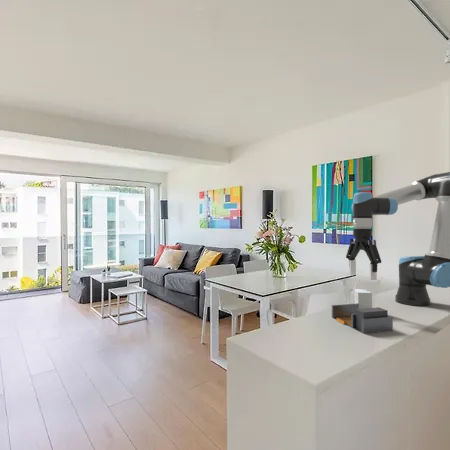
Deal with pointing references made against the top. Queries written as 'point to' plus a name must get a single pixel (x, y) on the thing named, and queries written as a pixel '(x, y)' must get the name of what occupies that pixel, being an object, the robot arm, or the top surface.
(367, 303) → the small box
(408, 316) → the top surface
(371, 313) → the dark grey box
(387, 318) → the rack
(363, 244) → the robot arm
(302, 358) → the top surface
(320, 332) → the top surface
